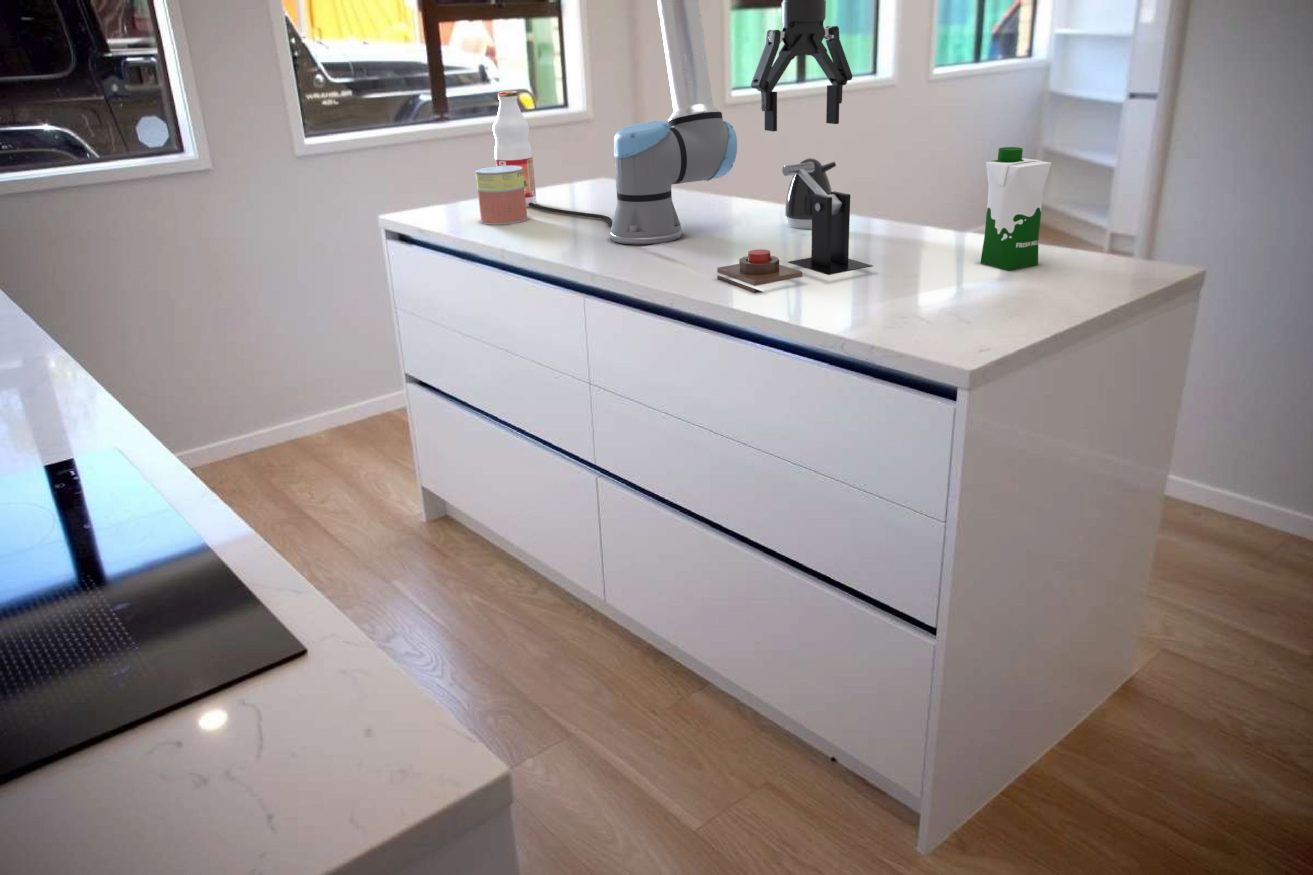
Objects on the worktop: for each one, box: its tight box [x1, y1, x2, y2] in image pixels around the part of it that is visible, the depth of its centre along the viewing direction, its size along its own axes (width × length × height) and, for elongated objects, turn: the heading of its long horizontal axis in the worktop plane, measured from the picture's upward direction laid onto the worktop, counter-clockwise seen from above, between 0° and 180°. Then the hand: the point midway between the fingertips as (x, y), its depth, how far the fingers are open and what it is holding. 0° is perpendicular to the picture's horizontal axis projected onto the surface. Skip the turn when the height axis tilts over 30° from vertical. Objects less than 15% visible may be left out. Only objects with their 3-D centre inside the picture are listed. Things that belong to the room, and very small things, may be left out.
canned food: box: [474, 165, 529, 226], centre depth 238 cm, size 11×11×12 cm
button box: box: [716, 255, 803, 294], centre depth 175 cm, size 12×10×4 cm
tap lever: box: [781, 162, 842, 215], centre depth 179 cm, size 13×6×2 cm, turn 29°
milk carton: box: [979, 146, 1052, 271], centre depth 176 cm, size 9×9×20 cm
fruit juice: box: [492, 90, 537, 208], centre depth 252 cm, size 9×9×28 cm
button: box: [747, 248, 772, 263], centre depth 174 cm, size 4×4×2 cm
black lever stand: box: [787, 190, 874, 276], centre depth 178 cm, size 12×10×14 cm
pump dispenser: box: [784, 157, 837, 230], centre depth 210 cm, size 10×10×15 cm
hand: (802, 127), depth 178 cm, fingers open, 13 cm apart
